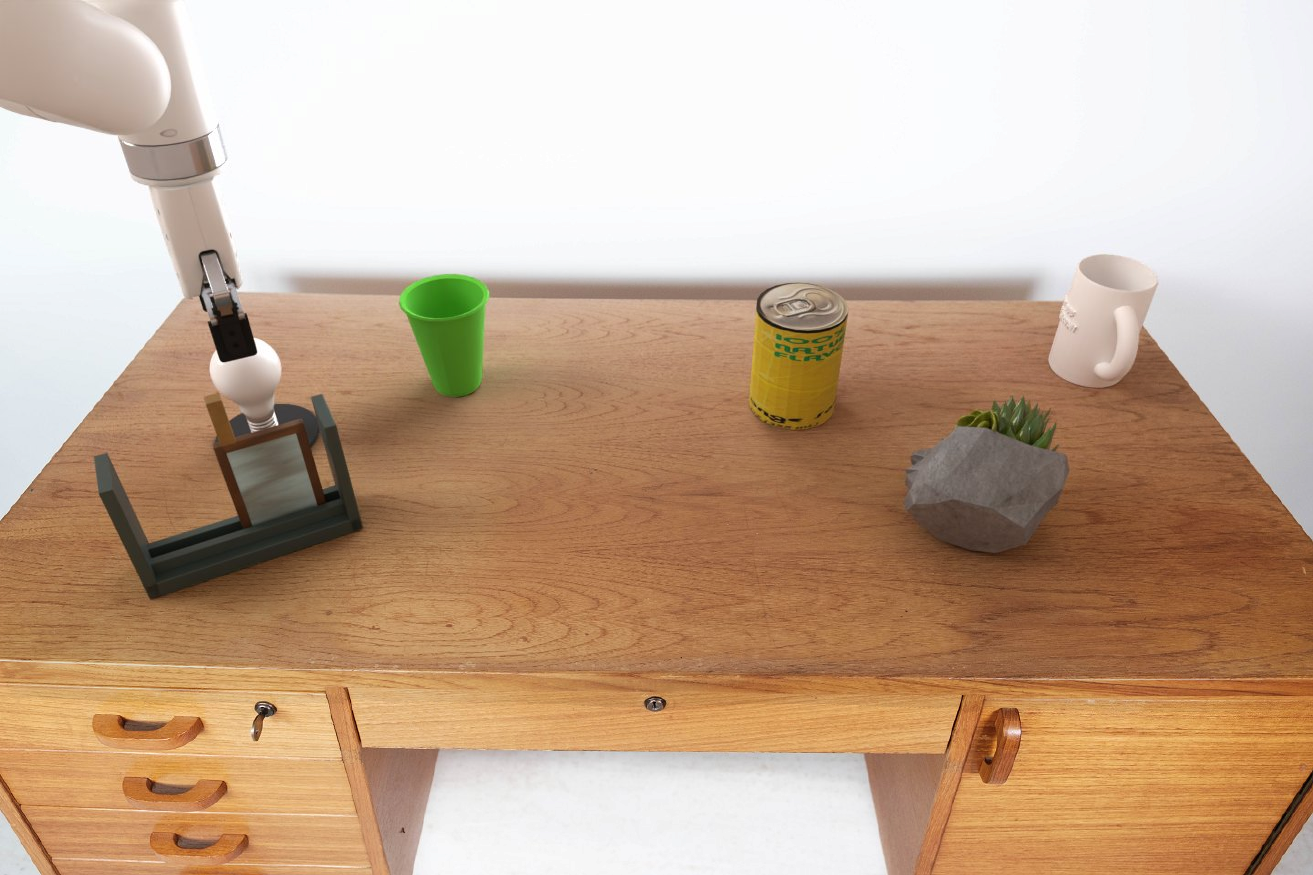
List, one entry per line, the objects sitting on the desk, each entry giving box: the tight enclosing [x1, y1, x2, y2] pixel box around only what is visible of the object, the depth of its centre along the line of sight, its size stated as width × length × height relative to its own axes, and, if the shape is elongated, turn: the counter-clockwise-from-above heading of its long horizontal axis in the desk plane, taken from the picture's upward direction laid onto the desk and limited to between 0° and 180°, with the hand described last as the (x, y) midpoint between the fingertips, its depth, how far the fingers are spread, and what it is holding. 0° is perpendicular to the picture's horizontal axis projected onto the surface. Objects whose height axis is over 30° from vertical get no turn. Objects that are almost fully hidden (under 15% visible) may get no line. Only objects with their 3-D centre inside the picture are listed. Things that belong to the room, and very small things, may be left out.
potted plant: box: [902, 394, 1070, 554], centre depth 86 cm, size 12×13×15 cm
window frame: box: [93, 393, 364, 600], centre depth 82 cm, size 18×5×12 cm, turn 118°
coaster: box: [214, 403, 321, 448], centre depth 97 cm, size 10×10×1 cm
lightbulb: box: [208, 337, 283, 433], centre depth 94 cm, size 6×6×11 cm
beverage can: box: [748, 282, 849, 431], centre depth 99 cm, size 9×9×12 cm
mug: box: [1047, 253, 1159, 389], centre depth 102 cm, size 8×12×12 cm
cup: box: [398, 273, 490, 398], centre depth 101 cm, size 9×9×11 cm
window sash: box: [203, 392, 326, 529], centre depth 81 cm, size 7×1×14 cm, turn 118°
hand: (229, 331), depth 89 cm, fingers open, 9 cm apart
